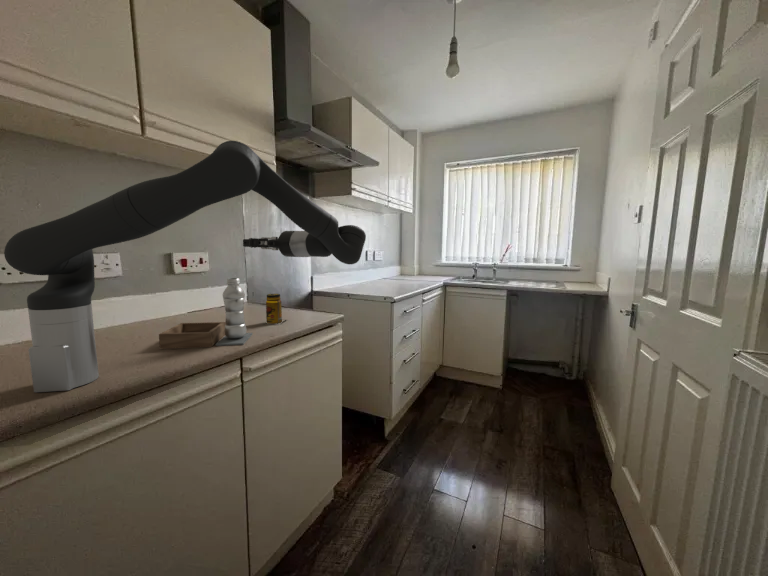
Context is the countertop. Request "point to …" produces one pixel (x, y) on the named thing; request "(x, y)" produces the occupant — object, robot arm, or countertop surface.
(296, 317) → the countertop surface
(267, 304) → the condiment
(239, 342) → the grey mat
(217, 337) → the walnut frame
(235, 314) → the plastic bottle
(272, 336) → the countertop surface
